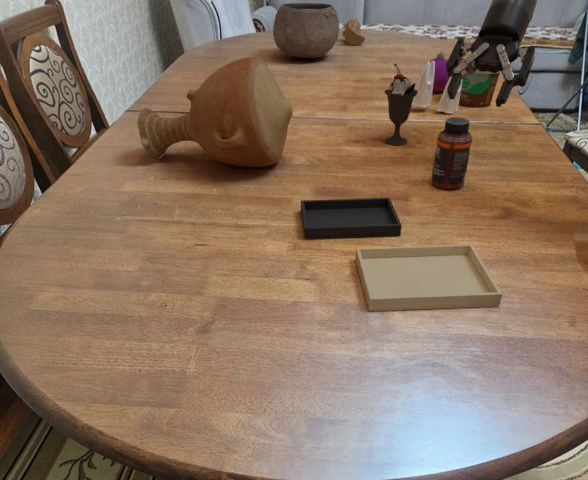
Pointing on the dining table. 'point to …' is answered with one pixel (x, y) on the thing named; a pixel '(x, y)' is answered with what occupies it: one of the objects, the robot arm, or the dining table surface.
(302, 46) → the clay pot
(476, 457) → the dining table surface
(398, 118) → the sundae
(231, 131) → the jug
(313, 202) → the charcoal tray
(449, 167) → the supplement bottle
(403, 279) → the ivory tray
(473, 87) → the food container
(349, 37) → the cat figurine
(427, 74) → the shaker set
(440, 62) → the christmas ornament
